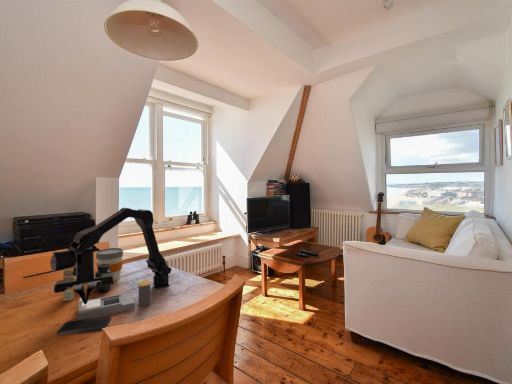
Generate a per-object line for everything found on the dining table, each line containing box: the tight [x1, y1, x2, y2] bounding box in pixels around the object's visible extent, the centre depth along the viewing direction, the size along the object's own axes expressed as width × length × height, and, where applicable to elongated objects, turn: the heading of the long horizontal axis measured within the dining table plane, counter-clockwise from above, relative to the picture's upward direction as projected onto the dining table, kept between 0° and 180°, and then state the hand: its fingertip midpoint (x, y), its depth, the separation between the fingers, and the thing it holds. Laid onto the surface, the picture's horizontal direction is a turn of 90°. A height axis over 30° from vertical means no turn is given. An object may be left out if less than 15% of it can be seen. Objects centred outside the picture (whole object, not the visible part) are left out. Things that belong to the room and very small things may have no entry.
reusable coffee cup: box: [95, 247, 124, 282], centre depth 134 cm, size 13×13×15 cm
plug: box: [138, 280, 151, 308], centre depth 108 cm, size 4×4×9 cm
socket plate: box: [77, 292, 136, 320], centre depth 104 cm, size 19×11×3 cm, turn 121°
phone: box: [56, 316, 112, 336], centre depth 91 cm, size 8×1×15 cm
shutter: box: [77, 297, 101, 312], centre depth 100 cm, size 7×7×3 cm
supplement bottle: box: [94, 264, 112, 294], centre depth 121 cm, size 7×7×12 cm
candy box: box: [62, 265, 79, 302], centre depth 114 cm, size 9×4×15 cm, turn 20°
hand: (85, 303), depth 100 cm, fingers closed
